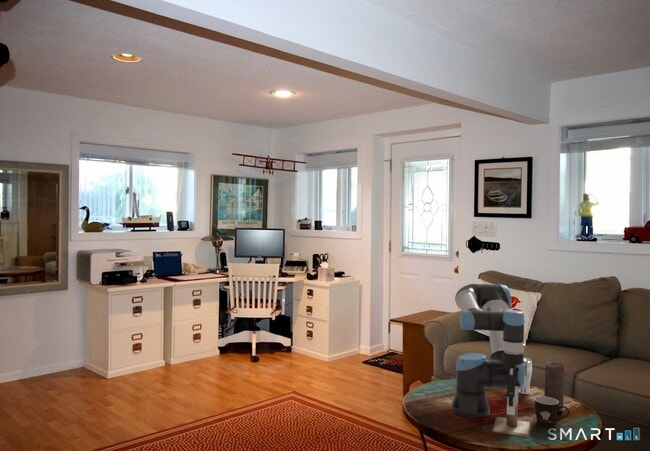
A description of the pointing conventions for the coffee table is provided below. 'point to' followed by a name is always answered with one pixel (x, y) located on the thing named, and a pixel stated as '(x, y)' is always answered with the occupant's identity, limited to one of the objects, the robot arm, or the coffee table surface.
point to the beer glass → (526, 377)
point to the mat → (512, 434)
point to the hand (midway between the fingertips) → (512, 408)
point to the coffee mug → (547, 411)
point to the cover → (512, 424)
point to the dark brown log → (554, 381)
